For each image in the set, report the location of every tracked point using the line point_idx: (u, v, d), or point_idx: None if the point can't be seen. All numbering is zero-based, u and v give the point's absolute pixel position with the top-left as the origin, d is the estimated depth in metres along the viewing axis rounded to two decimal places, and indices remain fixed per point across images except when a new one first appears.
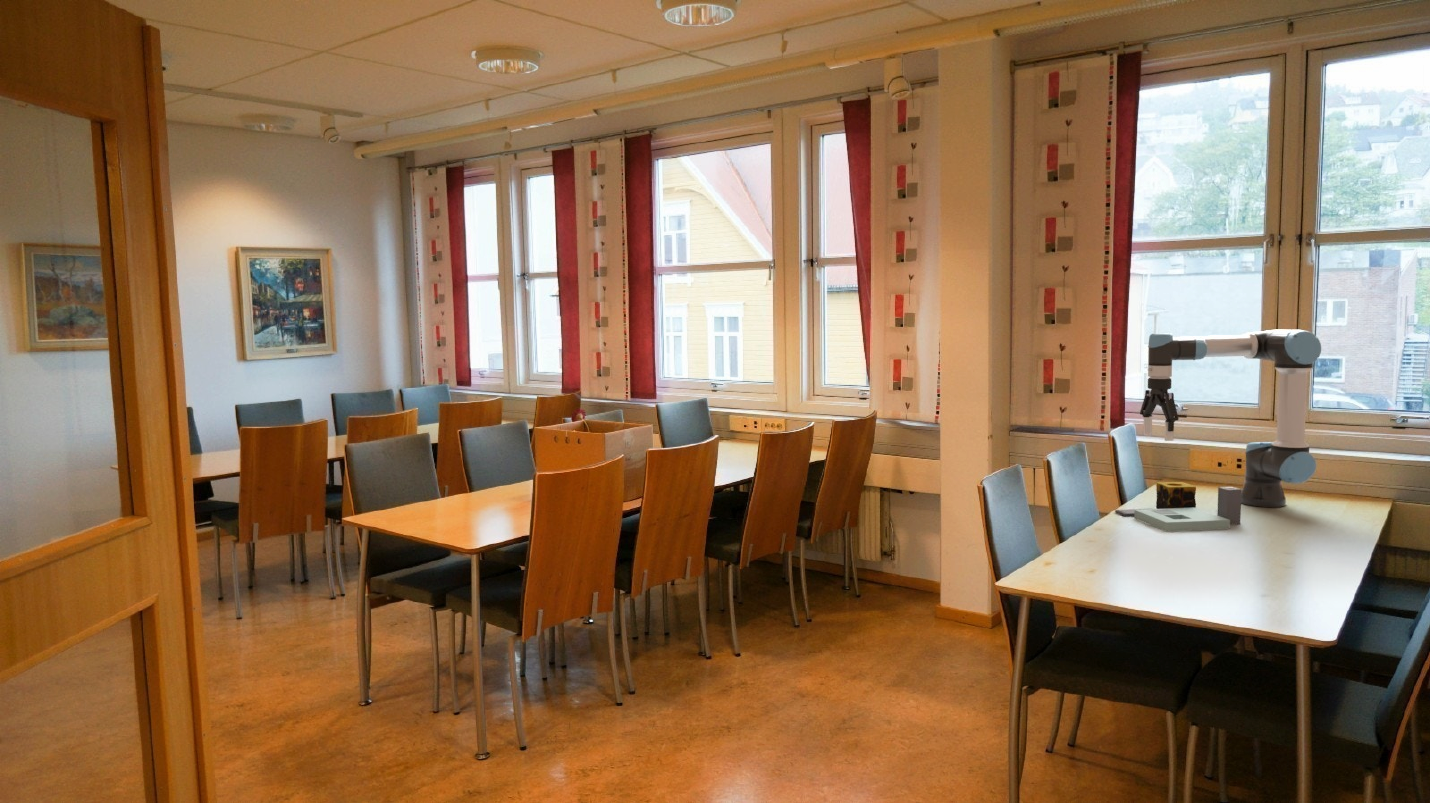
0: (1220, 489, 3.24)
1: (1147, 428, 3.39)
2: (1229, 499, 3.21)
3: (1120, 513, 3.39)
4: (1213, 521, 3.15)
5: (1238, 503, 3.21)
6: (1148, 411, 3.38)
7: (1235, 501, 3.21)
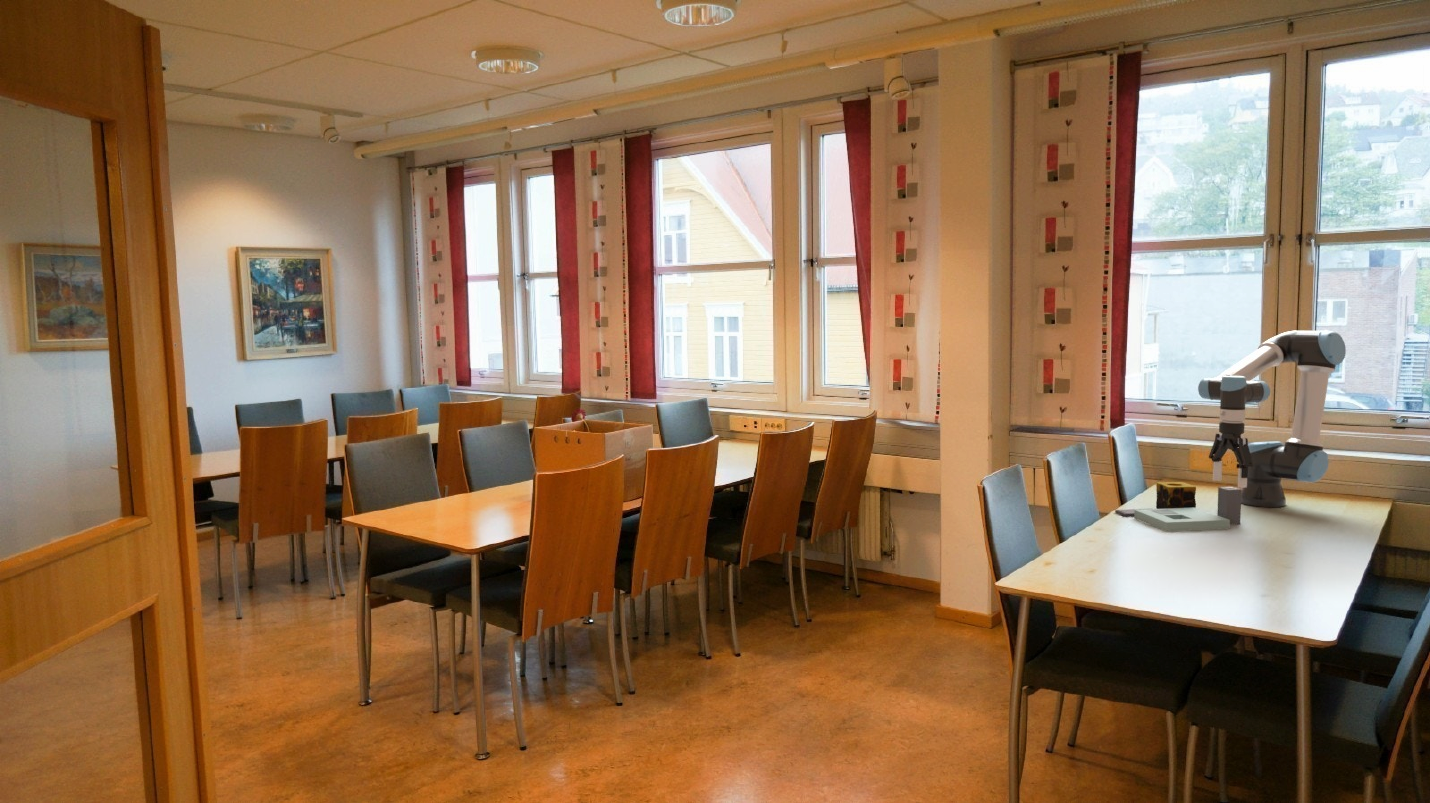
0: (1220, 489, 3.24)
1: (1216, 472, 3.29)
2: (1229, 499, 3.21)
3: (1120, 513, 3.39)
4: (1213, 521, 3.15)
5: (1238, 503, 3.21)
6: (1218, 455, 3.27)
7: (1235, 501, 3.21)
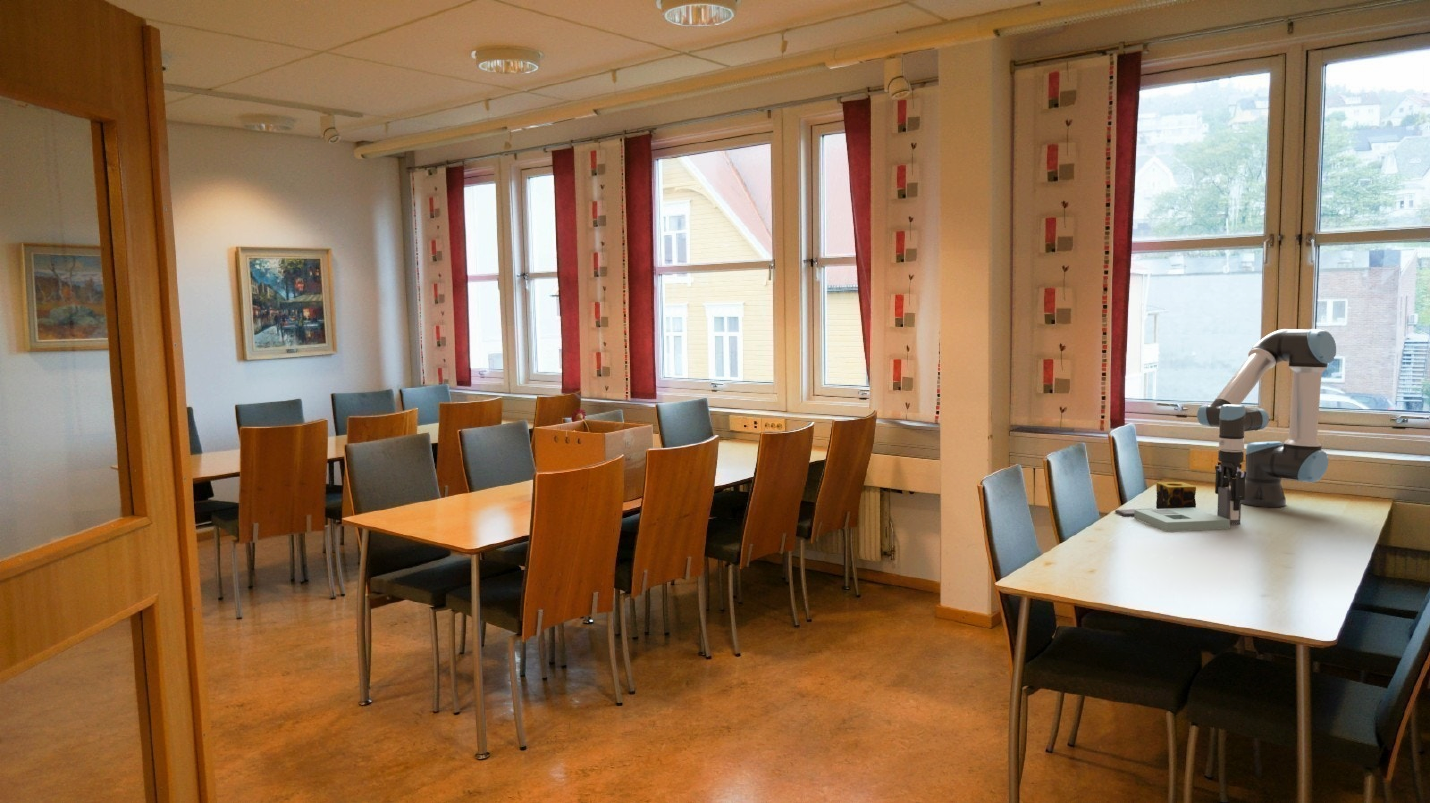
0: (1220, 489, 3.24)
1: None
2: (1229, 499, 3.21)
3: (1120, 513, 3.39)
4: (1213, 521, 3.15)
5: None
6: None
7: None
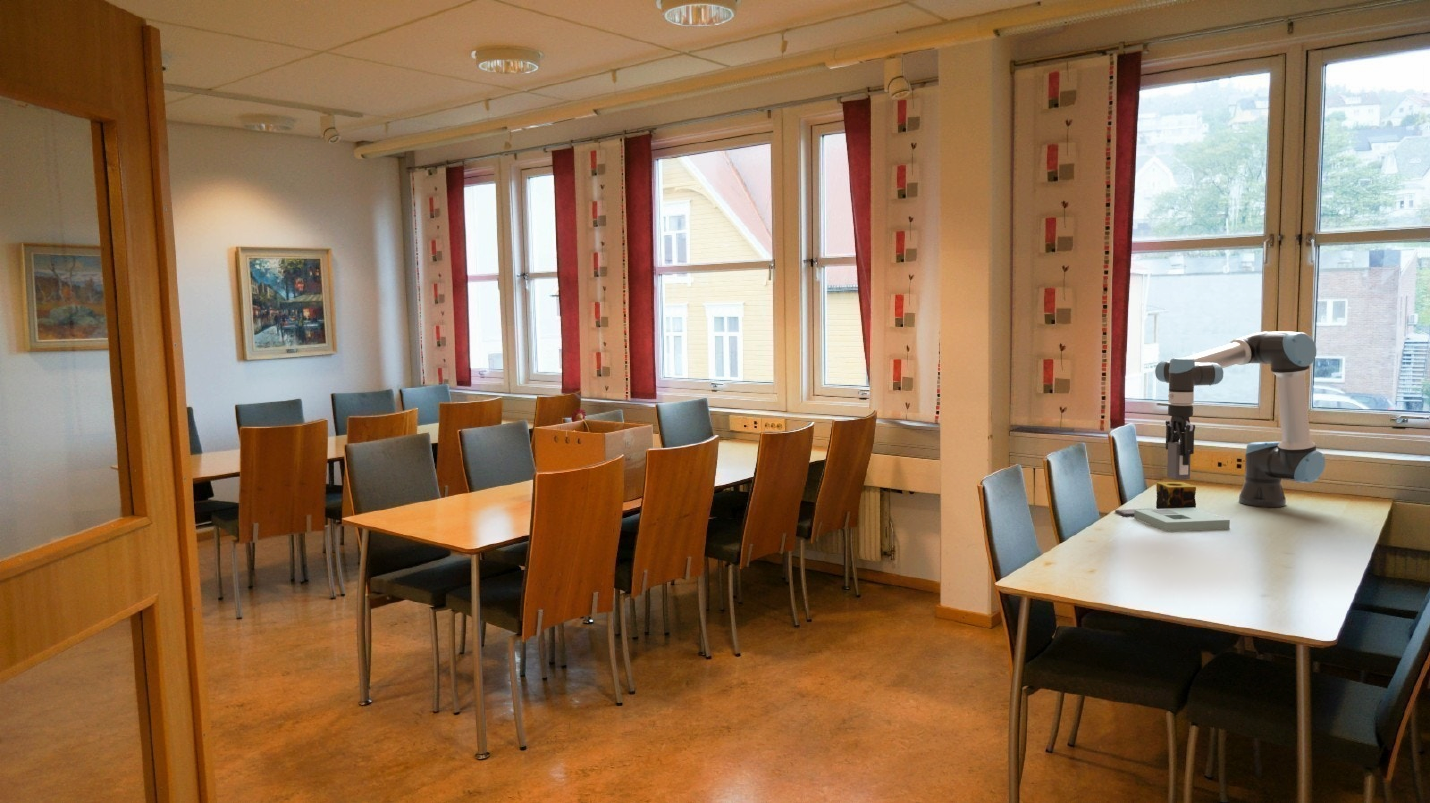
0: (1170, 444, 3.20)
1: None
2: (1178, 453, 3.16)
3: (1120, 513, 3.39)
4: (1213, 521, 3.15)
5: None
6: None
7: None
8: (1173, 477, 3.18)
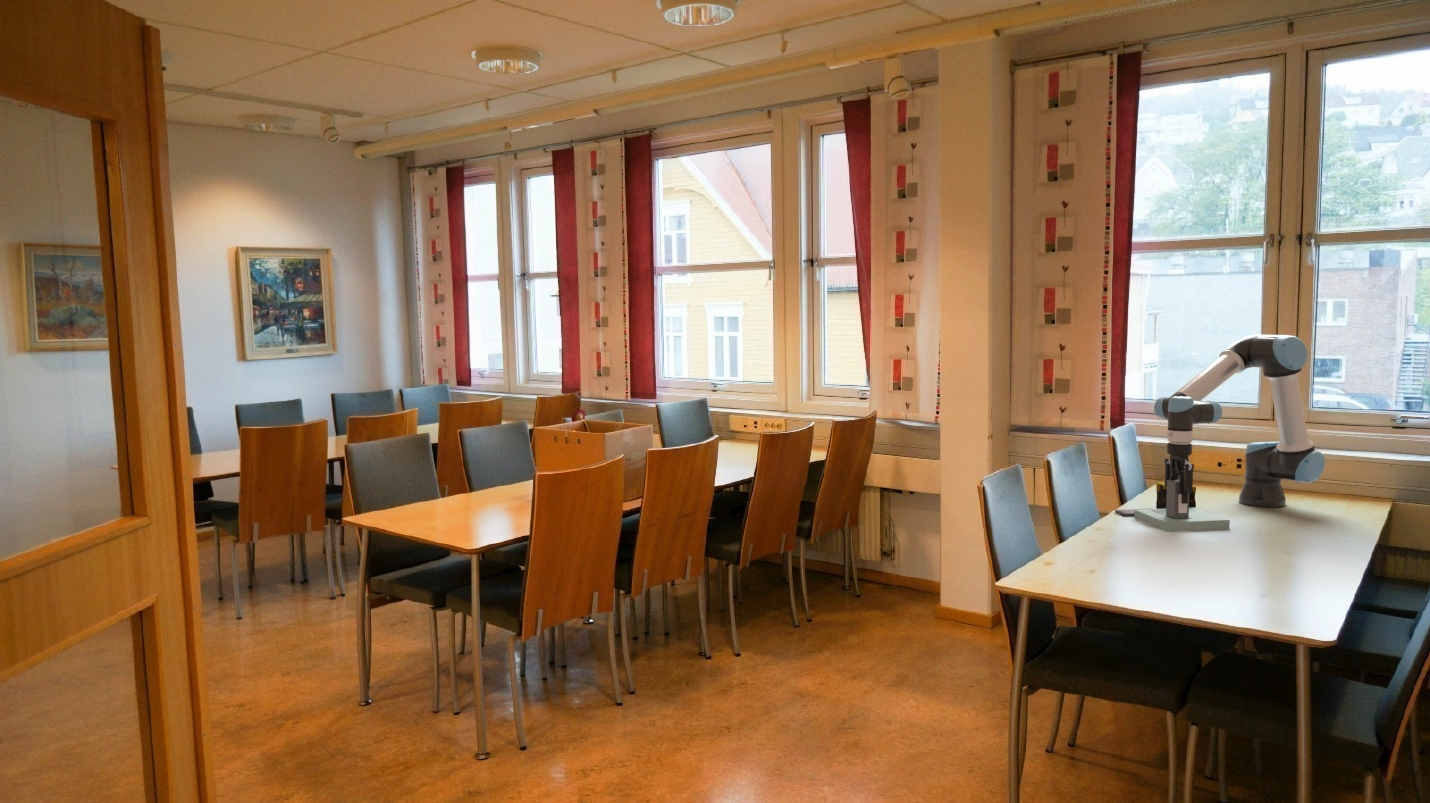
0: (1169, 482, 3.21)
1: None
2: (1177, 492, 3.18)
3: (1120, 513, 3.39)
4: (1213, 521, 3.15)
5: None
6: None
7: None
8: (1172, 515, 3.20)
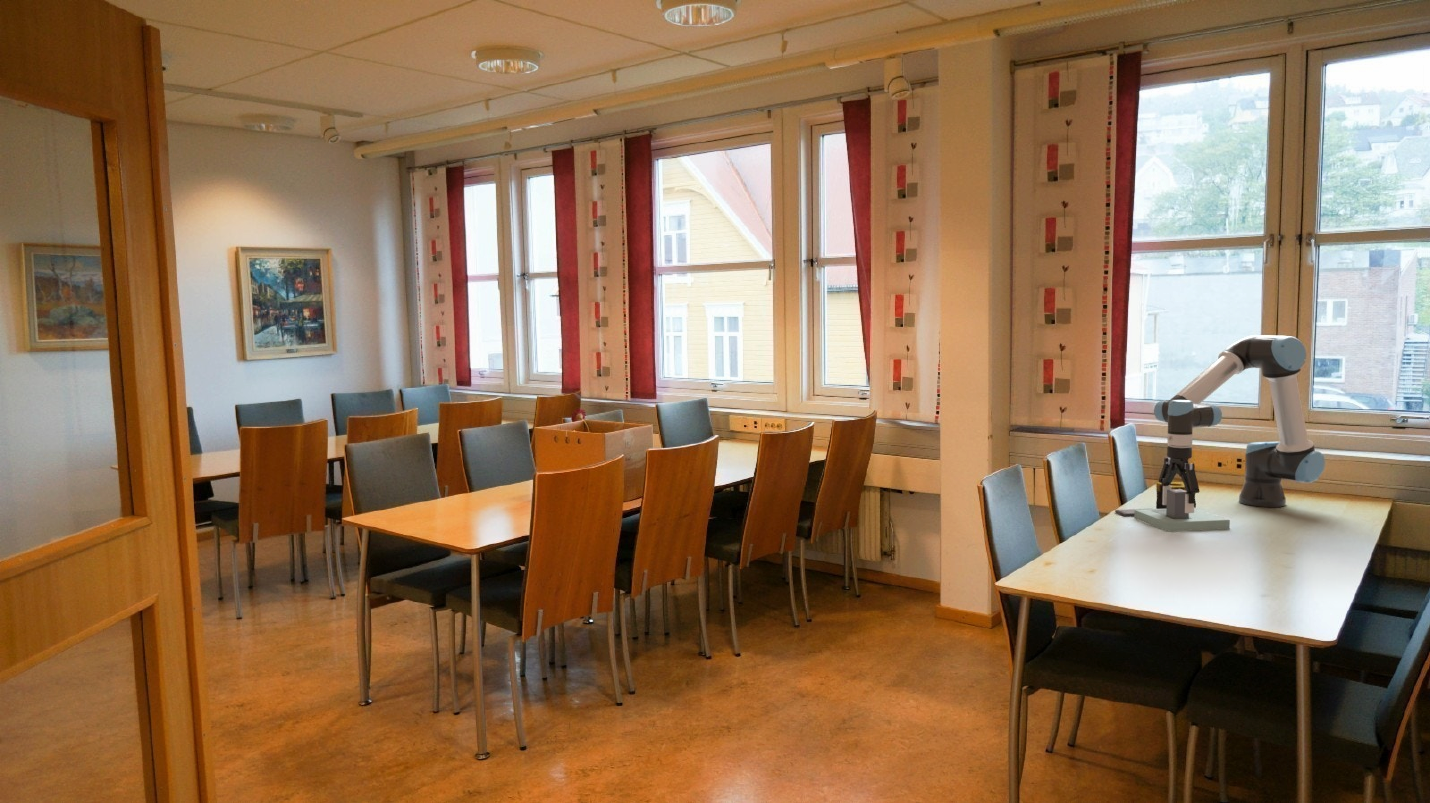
0: (1168, 492, 3.22)
1: (1166, 497, 3.27)
2: (1177, 502, 3.18)
3: (1120, 513, 3.39)
4: (1213, 521, 3.15)
5: None
6: (1167, 480, 3.26)
7: (1183, 504, 3.18)
8: None
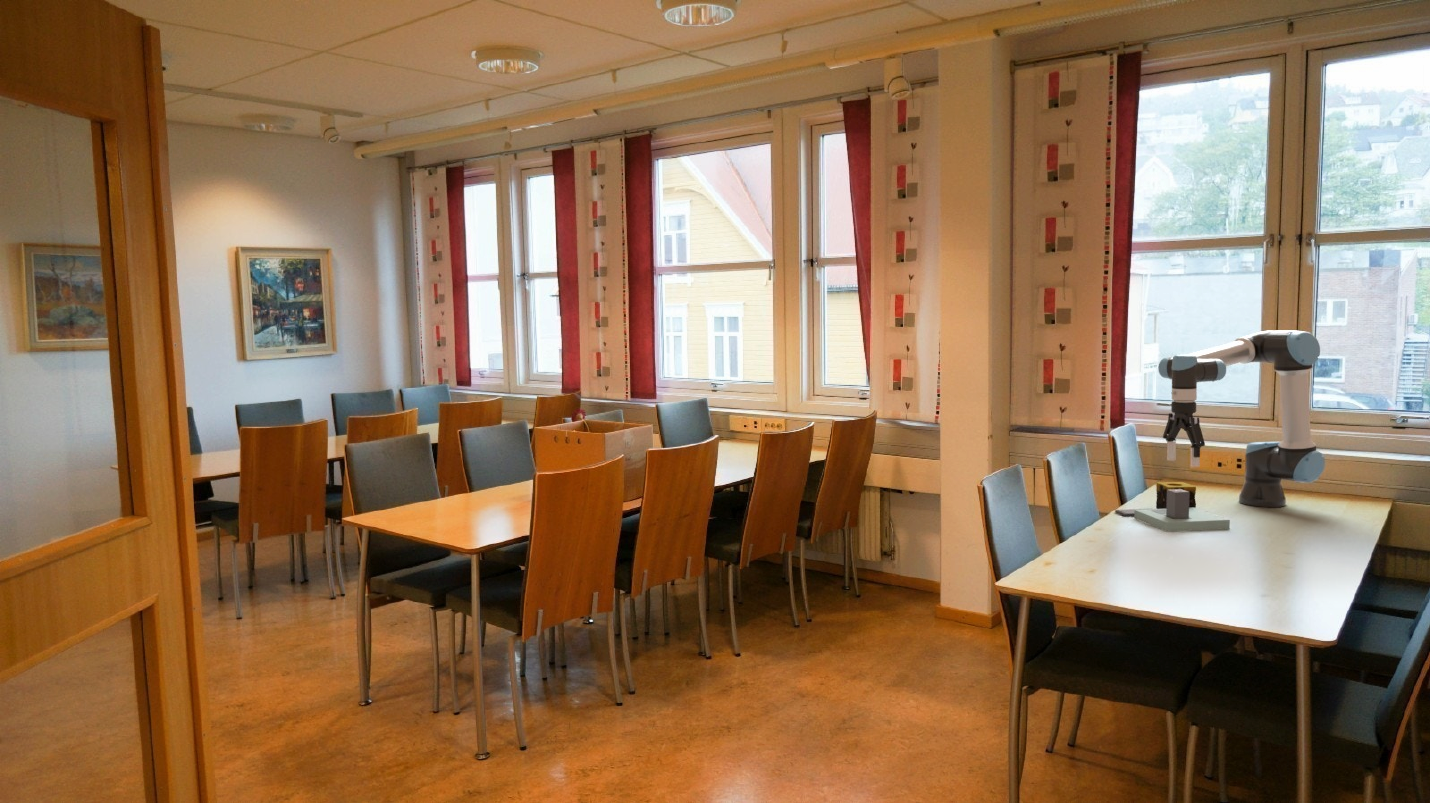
0: (1168, 492, 3.22)
1: (1171, 452, 3.27)
2: (1177, 502, 3.18)
3: (1120, 513, 3.39)
4: (1213, 521, 3.15)
5: (1186, 506, 3.19)
6: (1172, 435, 3.26)
7: (1183, 504, 3.18)
8: None
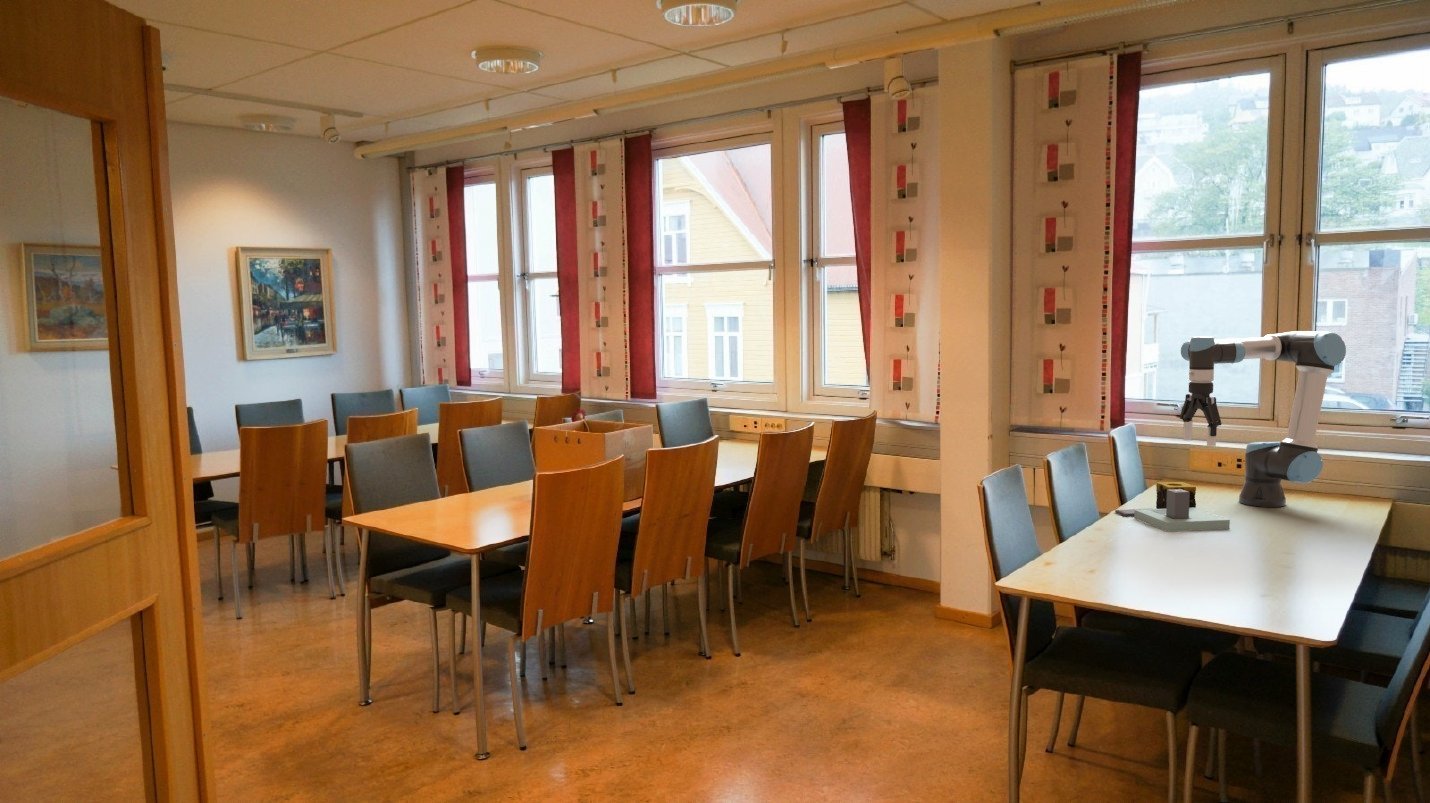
0: (1168, 492, 3.22)
1: (1187, 432, 3.34)
2: (1177, 502, 3.18)
3: (1120, 513, 3.39)
4: (1213, 521, 3.15)
5: (1186, 506, 3.19)
6: (1188, 415, 3.33)
7: (1183, 504, 3.18)
8: None
